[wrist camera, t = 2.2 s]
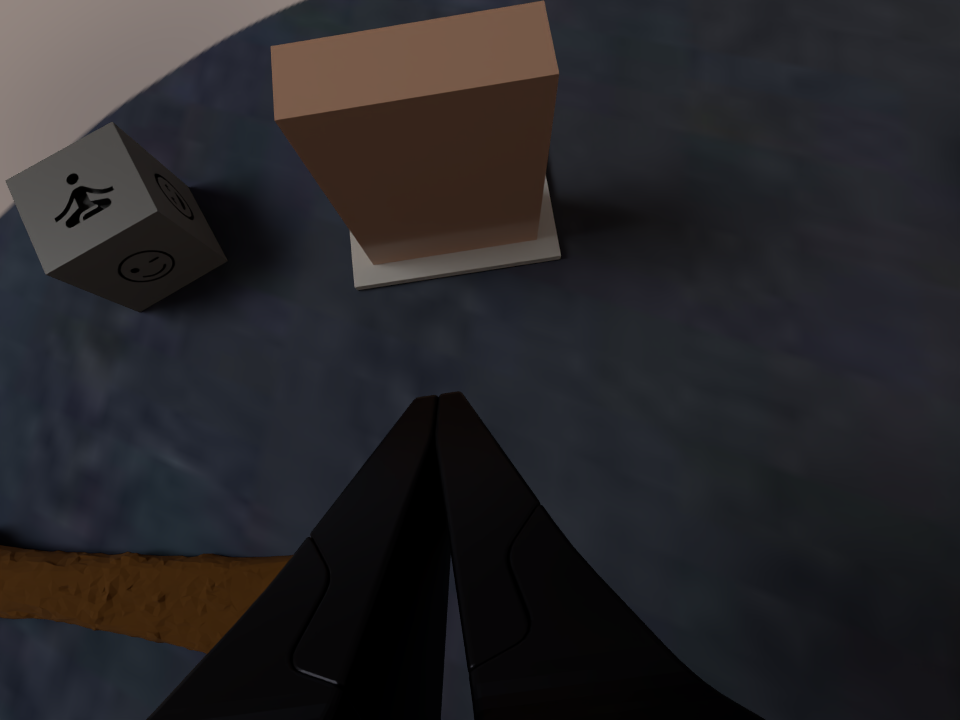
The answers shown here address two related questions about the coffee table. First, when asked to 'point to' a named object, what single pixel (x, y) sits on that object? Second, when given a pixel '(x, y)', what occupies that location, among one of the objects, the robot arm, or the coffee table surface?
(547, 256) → the mat
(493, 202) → the tile
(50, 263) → the dice cube
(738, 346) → the coffee table surface
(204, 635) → the primitive tool
